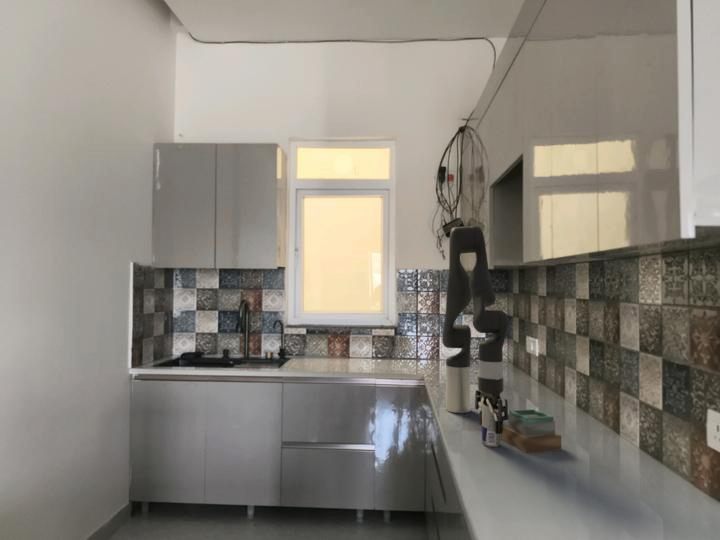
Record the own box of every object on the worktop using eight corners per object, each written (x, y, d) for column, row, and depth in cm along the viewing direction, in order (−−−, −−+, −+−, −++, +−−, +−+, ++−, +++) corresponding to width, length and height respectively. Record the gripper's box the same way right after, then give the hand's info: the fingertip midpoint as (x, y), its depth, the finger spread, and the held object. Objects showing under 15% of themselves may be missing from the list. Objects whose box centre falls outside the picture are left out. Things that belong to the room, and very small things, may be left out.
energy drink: (486, 440, 140) (486, 401, 140) (503, 444, 136) (502, 404, 137) (479, 444, 135) (479, 404, 136) (496, 448, 132) (495, 407, 132)
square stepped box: (502, 439, 140) (502, 409, 141) (534, 436, 144) (534, 407, 144) (526, 452, 129) (526, 420, 129) (561, 449, 132) (561, 417, 133)
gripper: (467, 371, 142) (467, 423, 142) (492, 380, 129) (493, 437, 128) (488, 371, 144) (488, 421, 144) (515, 379, 131) (515, 435, 130)
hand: (490, 429), depth 136 cm, fingers open, 8 cm apart
